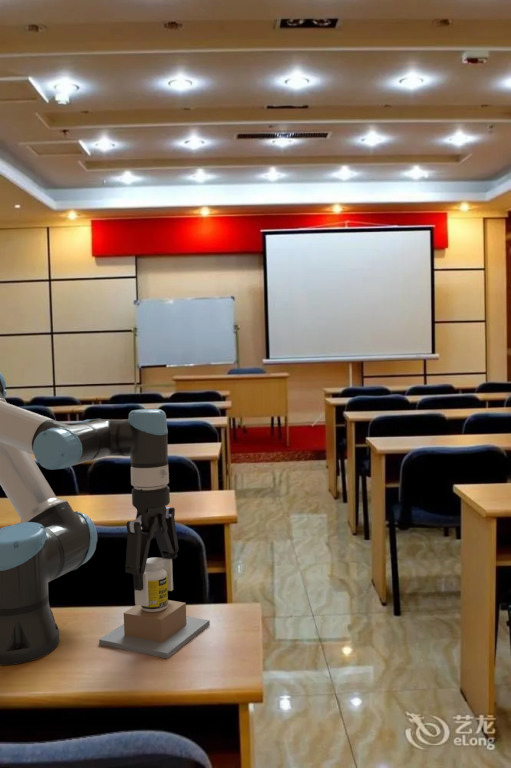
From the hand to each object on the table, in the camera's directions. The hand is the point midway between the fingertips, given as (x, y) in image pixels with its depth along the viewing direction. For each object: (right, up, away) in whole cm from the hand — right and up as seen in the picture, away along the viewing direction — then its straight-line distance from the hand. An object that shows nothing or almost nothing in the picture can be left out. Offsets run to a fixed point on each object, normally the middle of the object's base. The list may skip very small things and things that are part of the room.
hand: (154, 596), depth 129 cm
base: (0, -8, 0) cm, 8 cm away
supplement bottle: (0, -2, 0) cm, 2 cm away
